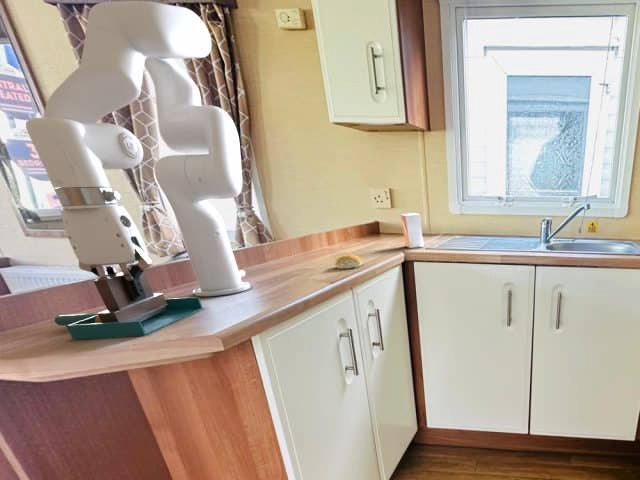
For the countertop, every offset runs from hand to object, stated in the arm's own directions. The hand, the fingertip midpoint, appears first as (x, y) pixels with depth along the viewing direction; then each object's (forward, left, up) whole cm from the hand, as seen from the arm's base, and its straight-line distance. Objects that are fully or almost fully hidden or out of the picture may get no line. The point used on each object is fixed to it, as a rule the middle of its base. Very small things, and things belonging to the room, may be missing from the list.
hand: (131, 299), depth 83 cm
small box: (-104, +43, -5) cm, 113 cm away
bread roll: (-58, +27, -5) cm, 64 cm away
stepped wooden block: (0, 0, -4) cm, 4 cm away
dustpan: (0, -4, -5) cm, 6 cm away
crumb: (+4, -5, -2) cm, 7 cm away
